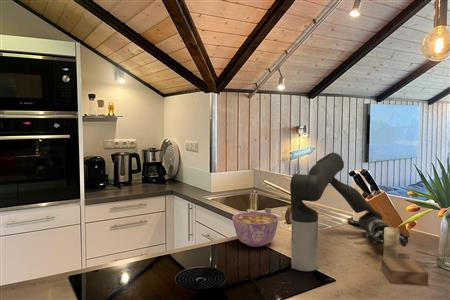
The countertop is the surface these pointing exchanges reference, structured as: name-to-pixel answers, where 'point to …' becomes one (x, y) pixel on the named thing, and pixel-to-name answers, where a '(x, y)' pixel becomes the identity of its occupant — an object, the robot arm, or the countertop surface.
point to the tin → (288, 215)
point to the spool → (391, 242)
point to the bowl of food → (255, 227)
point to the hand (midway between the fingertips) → (392, 243)
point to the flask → (267, 210)
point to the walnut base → (404, 271)
